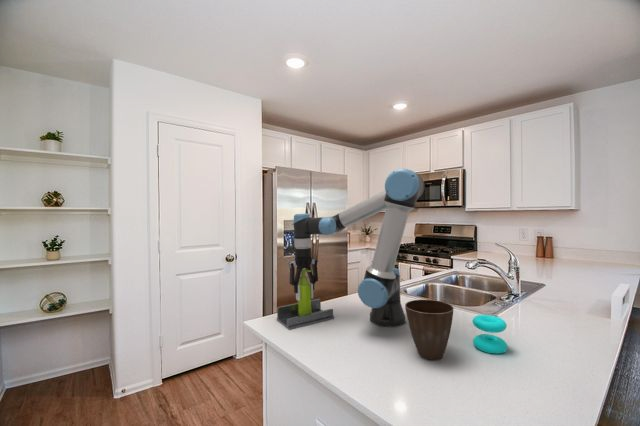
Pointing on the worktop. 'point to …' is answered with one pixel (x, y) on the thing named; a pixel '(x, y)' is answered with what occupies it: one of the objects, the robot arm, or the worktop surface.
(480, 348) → the donuts
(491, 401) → the worktop surface
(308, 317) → the track
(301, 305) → the soap dispenser
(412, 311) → the plant pot
